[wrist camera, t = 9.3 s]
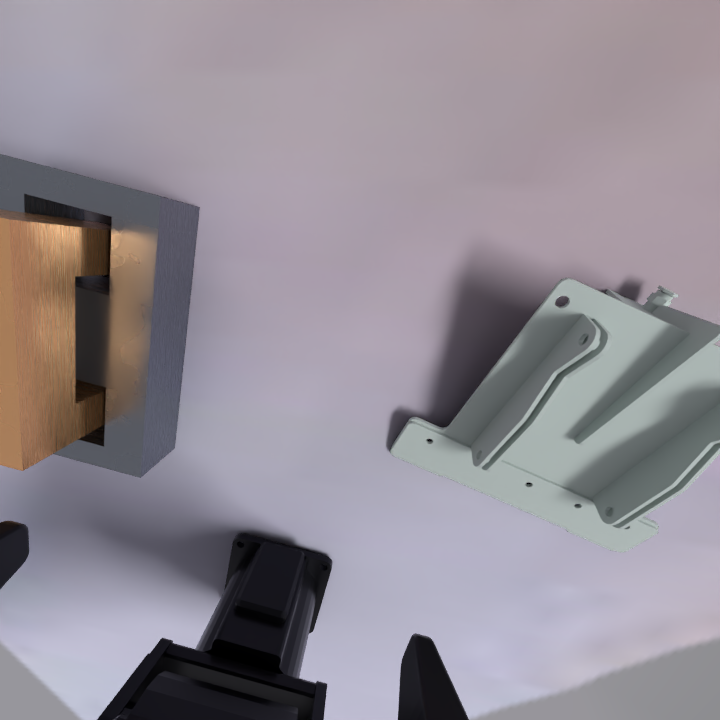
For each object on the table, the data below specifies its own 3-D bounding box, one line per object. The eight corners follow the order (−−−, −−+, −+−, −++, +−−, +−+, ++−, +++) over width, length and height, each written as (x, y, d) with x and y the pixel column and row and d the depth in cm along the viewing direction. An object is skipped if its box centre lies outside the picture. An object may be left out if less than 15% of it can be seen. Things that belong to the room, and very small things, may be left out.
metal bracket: (544, 244, 11) (941, 428, 12) (513, 215, 16) (793, 346, 16) (376, 488, 19) (617, 592, 20) (389, 419, 24) (581, 503, 24)
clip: (134, 407, 20) (22, 470, 14) (94, 396, 21) (-35, 455, 14) (143, 234, 18) (8, 219, 11) (97, 222, 18) (-63, 200, 11)
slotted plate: (174, 448, 21) (140, 477, 18) (50, 414, 21) (-4, 438, 18) (199, 207, 17) (160, 196, 14) (45, 166, 17) (-25, 147, 14)
